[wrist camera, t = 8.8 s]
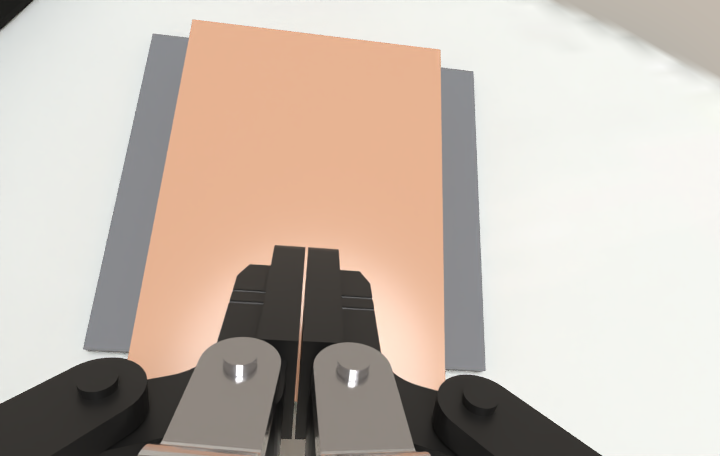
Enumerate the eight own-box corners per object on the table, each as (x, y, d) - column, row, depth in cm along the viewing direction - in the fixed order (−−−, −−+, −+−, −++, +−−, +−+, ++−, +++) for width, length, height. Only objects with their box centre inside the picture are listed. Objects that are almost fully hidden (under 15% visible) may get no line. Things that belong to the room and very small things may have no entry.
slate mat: (88, 350, 19) (83, 348, 18) (155, 41, 24) (152, 33, 23) (481, 371, 20) (485, 370, 20) (469, 77, 25) (473, 71, 25)
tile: (121, 393, 15) (192, 19, 20) (147, 395, 18) (204, 67, 23) (445, 408, 16) (440, 49, 21) (422, 408, 19) (422, 91, 24)
